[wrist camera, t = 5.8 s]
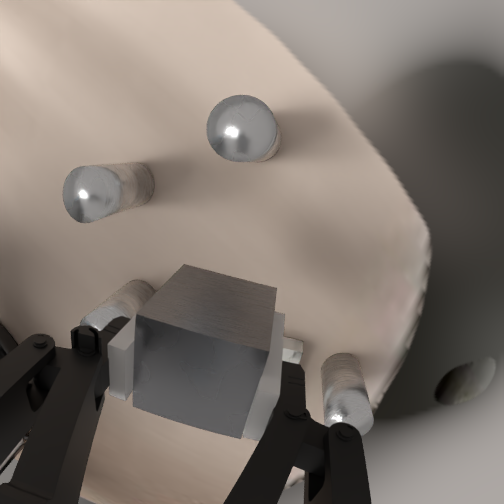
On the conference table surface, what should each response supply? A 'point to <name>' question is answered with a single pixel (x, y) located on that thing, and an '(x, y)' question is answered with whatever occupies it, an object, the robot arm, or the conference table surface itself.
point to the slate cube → (203, 349)
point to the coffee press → (13, 454)
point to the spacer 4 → (345, 393)
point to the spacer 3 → (243, 130)
